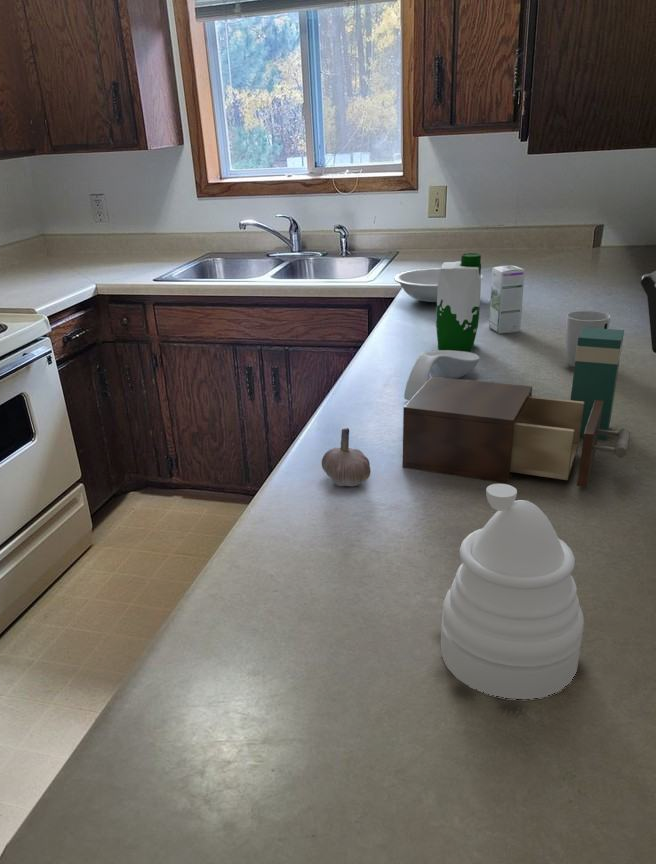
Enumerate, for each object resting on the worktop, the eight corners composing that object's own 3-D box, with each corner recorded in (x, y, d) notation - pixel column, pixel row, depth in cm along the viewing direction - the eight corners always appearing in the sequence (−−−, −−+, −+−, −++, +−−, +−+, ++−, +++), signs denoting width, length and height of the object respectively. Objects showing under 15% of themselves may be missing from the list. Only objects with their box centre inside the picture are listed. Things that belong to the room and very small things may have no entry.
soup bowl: (376, 301, 208) (376, 277, 205) (435, 287, 220) (436, 264, 217) (440, 315, 190) (441, 289, 187) (500, 299, 203) (501, 274, 200)
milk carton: (475, 353, 159) (481, 258, 150) (433, 352, 162) (436, 258, 153) (478, 342, 167) (484, 251, 158) (438, 341, 169) (441, 251, 160)
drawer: (627, 453, 109) (635, 403, 106) (619, 492, 98) (628, 438, 95) (498, 436, 117) (502, 390, 113) (479, 471, 106) (482, 421, 102)
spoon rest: (430, 363, 155) (431, 329, 152) (485, 369, 150) (487, 334, 147) (387, 399, 137) (387, 362, 133) (448, 407, 131) (450, 369, 128)
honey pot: (454, 703, 66) (465, 529, 58) (430, 616, 78) (436, 461, 70) (598, 697, 66) (629, 522, 58) (553, 611, 77) (573, 455, 69)
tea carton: (609, 426, 121) (624, 329, 113) (606, 440, 116) (621, 340, 109) (570, 421, 123) (582, 327, 116) (565, 435, 118) (577, 337, 111)
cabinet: (526, 444, 116) (532, 386, 111) (508, 483, 104) (513, 420, 100) (430, 431, 122) (432, 376, 118) (402, 467, 110) (403, 407, 106)
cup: (604, 372, 145) (611, 321, 140) (560, 369, 147) (566, 320, 143) (602, 359, 152) (609, 311, 147) (561, 357, 154) (566, 310, 150)
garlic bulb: (333, 465, 112) (332, 416, 108) (379, 472, 109) (379, 422, 106) (313, 486, 106) (311, 435, 102) (361, 494, 103) (360, 442, 99)
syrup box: (521, 331, 173) (526, 268, 166) (497, 334, 172) (501, 270, 166) (510, 326, 178) (515, 264, 172) (487, 328, 177) (491, 266, 171)
